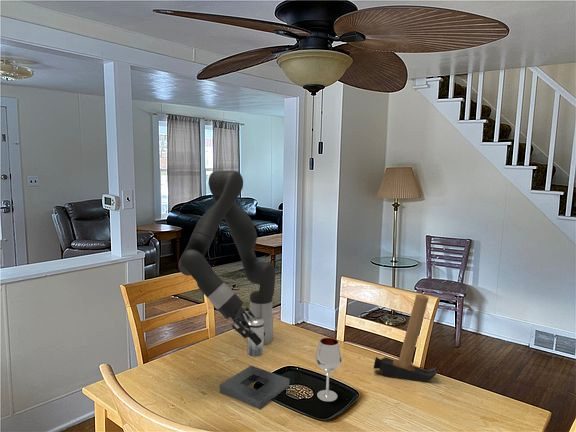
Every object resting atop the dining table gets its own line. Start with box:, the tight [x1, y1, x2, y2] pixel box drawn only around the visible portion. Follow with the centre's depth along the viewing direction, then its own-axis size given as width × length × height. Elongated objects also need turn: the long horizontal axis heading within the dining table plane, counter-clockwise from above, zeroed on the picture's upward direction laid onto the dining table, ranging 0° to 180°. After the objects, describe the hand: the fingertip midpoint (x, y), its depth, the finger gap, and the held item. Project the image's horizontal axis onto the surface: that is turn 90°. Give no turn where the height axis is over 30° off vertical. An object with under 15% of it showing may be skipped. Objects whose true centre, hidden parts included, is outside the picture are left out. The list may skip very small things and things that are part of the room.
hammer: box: [373, 294, 437, 383], centre depth 143 cm, size 20×5×30 cm, turn 76°
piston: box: [247, 317, 264, 358], centre depth 132 cm, size 5×5×11 cm
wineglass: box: [315, 337, 343, 402], centre depth 130 cm, size 8×8×18 cm
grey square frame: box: [219, 365, 290, 410], centre depth 134 cm, size 16×16×2 cm
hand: (261, 339), depth 132 cm, fingers closed on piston, 5 cm apart
